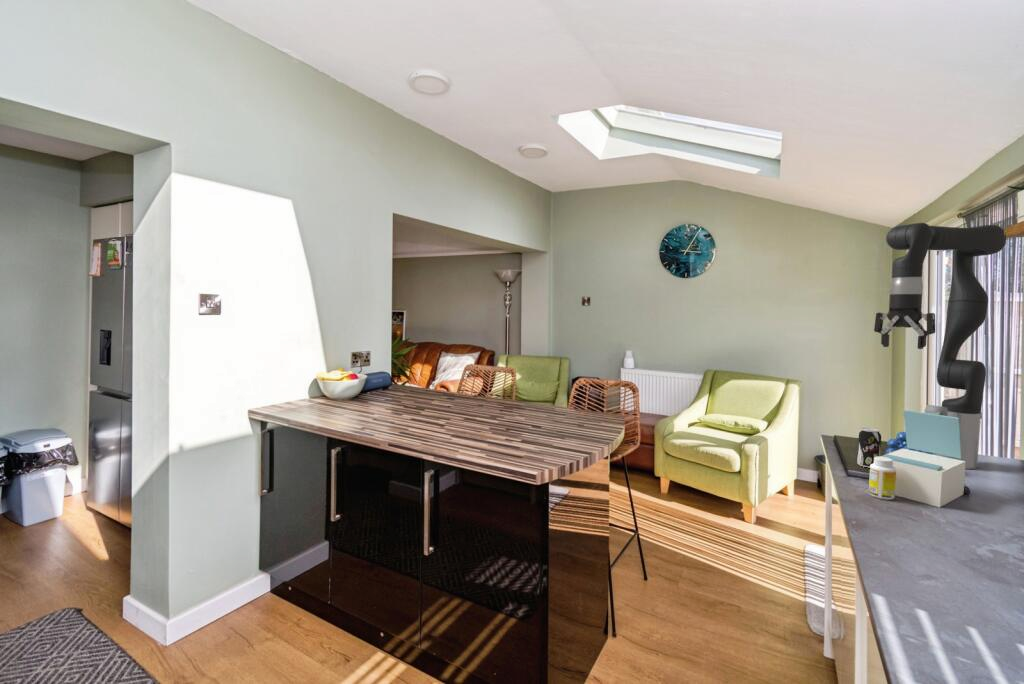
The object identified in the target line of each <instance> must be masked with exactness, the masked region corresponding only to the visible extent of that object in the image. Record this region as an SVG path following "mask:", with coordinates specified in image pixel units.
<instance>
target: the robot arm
mask: <svg viewBox="0 0 1024 684" xmlns="http://www.w3.org/2000/svg"><path fill="white" fill-rule="evenodd" d="M1004 231H1005V230H1004V228H1002V226H999V225H997V224H985V225H979V226H972V227H953V226H951V227H950V226H942V225H941V226H938V225H930V224H927V223H926V222H918V223H910V224H902V225H898V226H894V227H893V228H891V229H890V230H889V231H888V232H887V234H886V237H885V239H886V240H885V241H886V243H887V245H888V246H889V247H890V248H892V249H893V250H896V251H897V250H898V251H902V250H903V251H907V250H908V251H907V253H905V255H903V256H900V257H897V258H895V259H894V260H893V261H892V264H891V265H892V268H891V269H892V270H891V280H890V287H889V292H888V293H889V301H888V302H889V303H888V312H887V313H886V312H881V311H880V312H877V313H876V314H875V319H874V320H875V321H874V329H873V331H874V332H875V333H879V334H880V335H881V339H880V340H881V341H880V344H881V345H882V347H884V348H888V347H889V346H890V334H889V333H890V332H891V331H893V329H895V328H906V329H907V328H912V329H913V330H914V331H915V332H916V333H917V334H918V337H917V349H918V350H923V349H924V348H926V346H927V337H928V336H929V335H933V334H936V313H934V312H928V313H923V311H922V306H923V305H922V302H923V288H924V287H923V286H924V284H923V283H924V282H923V271H924V270H923V268H924V267H923V266H924V262H925V258H926V257H927V253H928V252H929V251H950V250H951V251H952V255H951V256H952V260H951V263H952V264H951V269H952V270H951V282H950V290H949V297H948V301H947V302H948V303H947V311H946V318H945V319H946V320H945V328H944V329H945V330H944V336H943V341H942V347H941V351H940V356H939V360H938V364H937V369H936V370H937V371H936V382H937V384H938V385H939V387H941V388H947V389H953V390H954V389H956V390H964V391H965V393H964V394H963V395H962V396H959V397H954V398H947V399H944V400H942V402H941V407H947V409H948V416H950V417H957V418H959V422H960V437H961V452H962V458H961V459H959V458H954V457H950V456H945V455H940V454H937V456H942V457H947V458H952V459H957V460H961V461H966V463H965V470H966V469H967V470H975V469H977V468H978V460H979V449H980V448H979V447H980V446H979V445H980V433H981V417H982V415H981V414H982V405H983V401H984V390H985V384H986V375H987V370H986V366H985V364H984V363H983V362H982V361H978V360H971V359H970V360H969V359H958V354H959V353H960V352H959V351H960V350H961V347H962V346H963V344H964V343H965V342H966V341H967V340H968V339H969V337H971V336H972V335H973V334H974V333H975V332H976V331H977V330H978V329H979V328H980V327H981V326H982V325H983V323H984V322H985V321H986V318H987V313H988V307H989V296H988V293H987V292H986V290H985V289H984V287H983V285H982V284H981V283H980V281H979V280H978V278H977V277H976V275H975V273H974V269H973V267H974V266H973V260H974V257H980V256H981V257H982V256H990V255H994V254H997V253H999V252H1000V251H1002V250H1003V249H1004V248H1005V246H1006V244H1007V235H1006V233H1005V235H1004ZM886 318H887V319H888V320H889V322H888V323H887V324H886V325H885V327H884V320H886ZM922 319H924V321H926V329H925V328H924V326H923V325H922V324H921V323H920V321H921V320H922ZM883 327H884V328H883Z"/></svg>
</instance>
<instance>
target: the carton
mask: <svg viewBox="0 0 1024 684" xmlns="http://www.w3.org/2000/svg"><path fill="white" fill-rule="evenodd" d="M880 457H887V458H890V459H892V460H893V467H895V468H896V485H895V497H901V498H904V499H908V500H911V501H915V502H919V503H923V504H926V505H929V506H933V507H937V508H942V507H943V506H945V505H947V504H948V503H950V502H952V501H954V500H956V499H957V498H960V497H961V496H963V495H964V489H965V477H966V476H965V475H966V469H965V463H966V461H961V460H957V459H952V458H947V457H942V456H938V454H936V455H935V454H927V453H922V452H917V451H913V450H908V449H903V448H902V449H900V450H897V451H894V452H891V453H888V454H886V453H885V454H884V455H880Z"/></svg>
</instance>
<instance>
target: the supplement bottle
mask: <svg viewBox="0 0 1024 684" xmlns="http://www.w3.org/2000/svg"><path fill="white" fill-rule="evenodd" d="M880 456H881V455H880ZM880 456H877V457H874V463H873V464H871V465H870V469H869V479H868V494H869V496H872V497H873V498H877V499H880V500H888V501H889V500H894V499H895V498H896V495H895V485H896V468H895V467H893V460H892V459H890V458H887V457H880Z"/></svg>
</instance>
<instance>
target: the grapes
mask: <svg viewBox="0 0 1024 684" xmlns="http://www.w3.org/2000/svg"><path fill="white" fill-rule="evenodd" d="M887 445H888V447H889V448H887V449H886V450H885V455H886V454H888V453H891V452H894V451H897V450H900V449H902V448H903V449H908V450H913V451H917V452H922V453H927V454H932V455H934V453H930V452H925V451H920V450H915V449H910V448H907V442H906V432H905V431H899V432H897V434H896V435H895V437H892V438H889V439H888V440H887Z"/></svg>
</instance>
